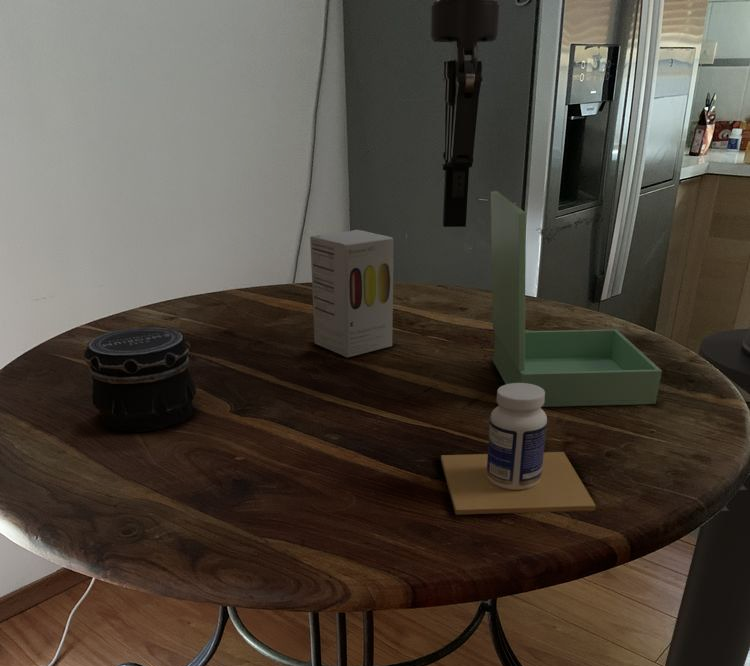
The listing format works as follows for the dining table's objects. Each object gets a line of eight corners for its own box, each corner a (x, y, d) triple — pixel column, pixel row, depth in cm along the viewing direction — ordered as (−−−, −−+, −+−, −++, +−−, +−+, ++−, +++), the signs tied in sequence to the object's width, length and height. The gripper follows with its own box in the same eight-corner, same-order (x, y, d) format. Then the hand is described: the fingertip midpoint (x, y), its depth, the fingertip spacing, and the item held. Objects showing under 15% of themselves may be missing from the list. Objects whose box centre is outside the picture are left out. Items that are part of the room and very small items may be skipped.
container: (153, 389, 102) (141, 318, 97) (219, 409, 96) (210, 334, 91) (75, 420, 93) (57, 344, 88) (143, 444, 87) (128, 364, 82)
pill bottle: (535, 466, 80) (545, 380, 75) (544, 492, 75) (556, 401, 70) (483, 466, 80) (489, 379, 75) (488, 491, 75) (495, 401, 70)
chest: (611, 358, 112) (616, 329, 109) (655, 404, 96) (662, 370, 94) (493, 361, 111) (495, 331, 109) (518, 407, 96) (521, 374, 93)
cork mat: (563, 456, 83) (563, 451, 83) (595, 510, 73) (595, 505, 73) (440, 459, 83) (440, 455, 83) (455, 515, 73) (455, 509, 72)
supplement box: (347, 359, 112) (343, 244, 104) (312, 344, 119) (307, 235, 110) (394, 346, 118) (395, 236, 109) (359, 332, 124) (357, 227, 115)
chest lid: (496, 190, 99) (490, 191, 99) (526, 212, 83) (519, 213, 83) (498, 328, 108) (492, 329, 108) (524, 370, 93) (518, 371, 93)
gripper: (425, 4, 86) (419, 217, 98) (438, -7, 75) (430, 236, 87) (488, 4, 86) (475, 216, 98) (511, -7, 75) (493, 235, 87)
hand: (454, 225), depth 92 cm, fingers closed
